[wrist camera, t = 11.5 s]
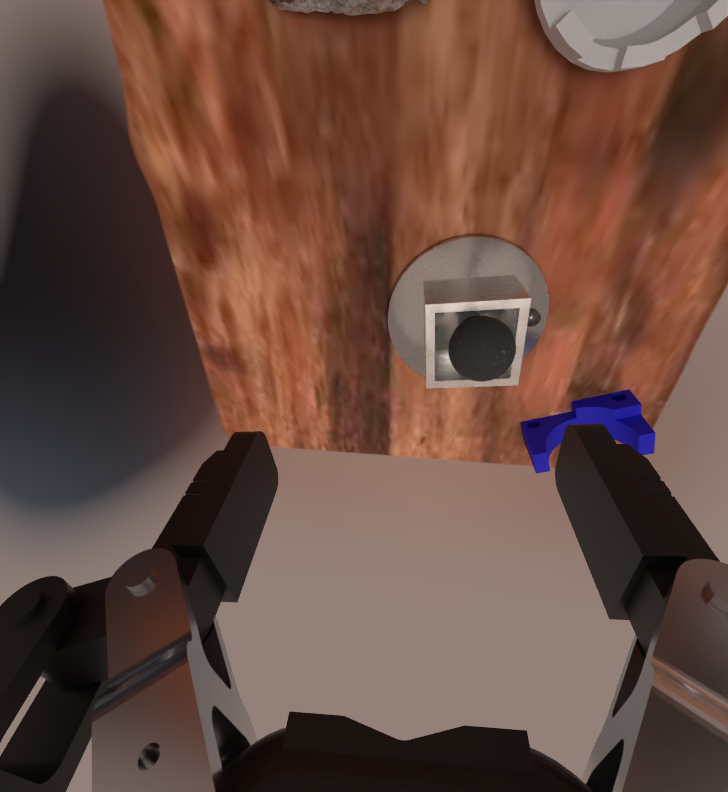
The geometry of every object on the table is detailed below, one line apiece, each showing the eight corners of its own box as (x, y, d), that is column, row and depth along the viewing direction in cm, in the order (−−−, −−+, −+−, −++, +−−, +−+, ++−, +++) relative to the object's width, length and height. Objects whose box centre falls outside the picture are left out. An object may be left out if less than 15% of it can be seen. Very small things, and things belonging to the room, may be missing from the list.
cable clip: (628, 388, 44) (655, 421, 39) (627, 418, 46) (653, 453, 41) (518, 412, 47) (531, 445, 42) (523, 438, 49) (536, 473, 45)
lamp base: (382, 242, 37) (378, 264, 31) (559, 227, 35) (589, 247, 29) (392, 382, 46) (390, 418, 40) (533, 377, 44) (552, 414, 38)
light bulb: (472, 279, 37) (494, 317, 29) (508, 318, 39) (539, 364, 31) (429, 319, 40) (437, 365, 31) (464, 353, 41) (482, 405, 33)
